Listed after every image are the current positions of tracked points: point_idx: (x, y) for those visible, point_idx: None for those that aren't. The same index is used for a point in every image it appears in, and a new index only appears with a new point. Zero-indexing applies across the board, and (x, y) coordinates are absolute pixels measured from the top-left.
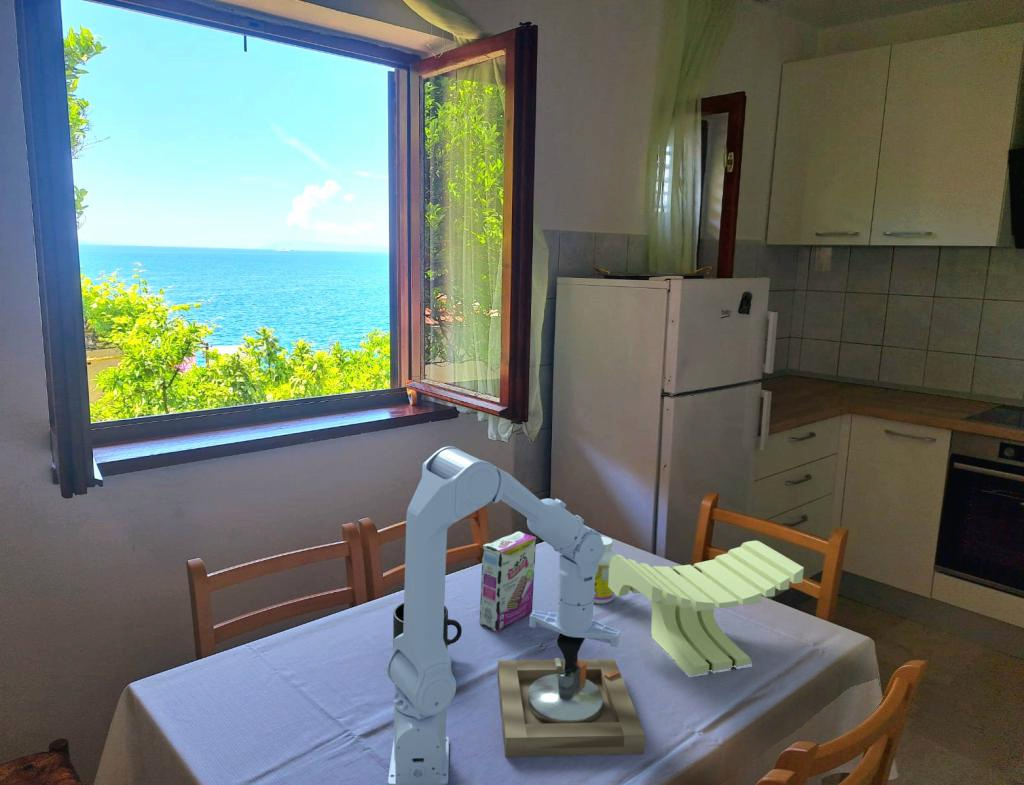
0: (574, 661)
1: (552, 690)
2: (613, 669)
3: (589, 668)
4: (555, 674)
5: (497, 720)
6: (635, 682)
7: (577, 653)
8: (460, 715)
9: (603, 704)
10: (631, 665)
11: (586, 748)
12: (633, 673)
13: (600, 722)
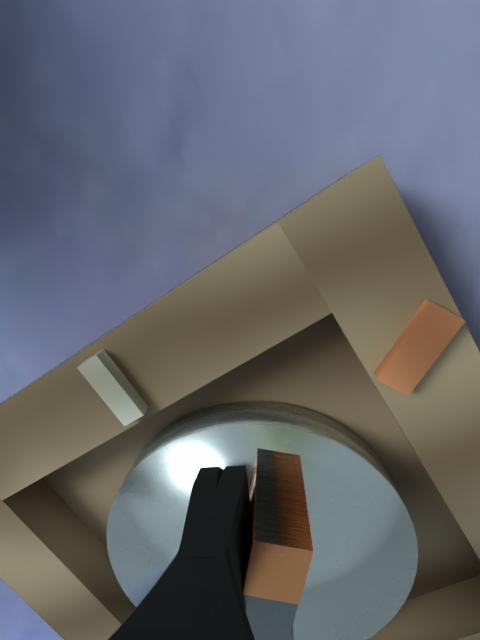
0: (239, 579)
1: None
2: (402, 279)
3: (272, 337)
4: (151, 460)
5: None
6: (472, 172)
7: (229, 553)
8: (18, 612)
9: (391, 459)
10: (420, 3)
11: None
12: (447, 88)
13: None
